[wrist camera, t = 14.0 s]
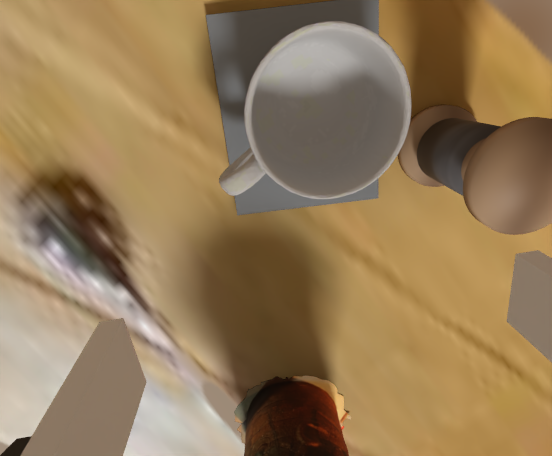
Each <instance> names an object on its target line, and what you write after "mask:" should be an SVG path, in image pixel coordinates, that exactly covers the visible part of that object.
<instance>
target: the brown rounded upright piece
mask: <svg viewBox="0 0 552 456" xmlns="http://www.w3.org/2000/svg"><path fill="white" fill-rule="evenodd" d="M398 159H399V163H400V165H401V167H402V169H403V171H404V172H405V173H406V174H407V175H408V176H409V177H410V178H411V179H413V180H414V181H416V182H418V183H420V184H422V185H425V186H431V187H438V186H444V185H445V186H447V187H448V188H450V189H452V190H454V191H456V192H457V193H459V194H461V195H463V196H464V200H465V204H466V206H467V208H468V210H469V211H470V213H471V214H472V215H473V216H474V217H475V218H476V219H477V220H478V221H480V222H481V223H483V224H484V225H486V226H487V227H489V228H491V229H493V230H494V231H497V232H500V233H504V234H512V235H517V234H525V233H530V232H533V231H536V230H539V229H541V228H544V227H545V226H547V225H549V224H551V223H552V119H548V118H540V117H528V118H523V119H518V120H515V121H512V122H510V123H508V124H506V125H504V126H502V127H500V126H495V125H490V124H484V123H479V122H477V121H476V119H475V118H474V117H473V115H472V114H471V113H469V112H468V111H466V110H465V109H463V108H460V107H457V106H451V105H436V106H432V107H429V108H427V109H424V110H423V111H421V112H419V113H418V114H417V115H415V116H414V117H413V118H412V119H411V120H410V125H409V129H408V132H407V135H406V138H405V141H404V144H403V146H402V148H401V150H400V152H399V153H398Z"/></svg>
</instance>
